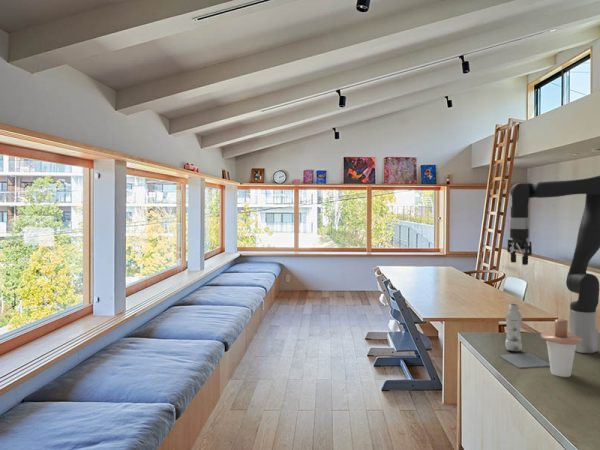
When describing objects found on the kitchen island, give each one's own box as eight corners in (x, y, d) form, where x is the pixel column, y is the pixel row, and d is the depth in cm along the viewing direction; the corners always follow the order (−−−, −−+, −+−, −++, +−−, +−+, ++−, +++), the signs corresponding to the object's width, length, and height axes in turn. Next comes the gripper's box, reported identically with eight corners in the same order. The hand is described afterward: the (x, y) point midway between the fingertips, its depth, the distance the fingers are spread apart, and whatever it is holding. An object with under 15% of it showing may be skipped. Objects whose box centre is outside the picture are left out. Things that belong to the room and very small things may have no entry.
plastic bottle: (518, 348, 189) (518, 302, 188) (524, 353, 182) (524, 306, 181) (502, 347, 190) (502, 302, 189) (508, 353, 183) (508, 306, 182)
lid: (564, 333, 167) (564, 315, 167) (590, 343, 154) (591, 324, 154) (533, 334, 165) (533, 316, 165) (557, 345, 152) (557, 326, 152)
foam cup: (578, 380, 154) (578, 344, 154) (549, 376, 157) (549, 341, 157) (572, 370, 163) (572, 336, 163) (544, 367, 166) (544, 334, 166)
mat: (529, 354, 181) (529, 353, 181) (552, 366, 167) (552, 365, 167) (498, 355, 180) (498, 354, 180) (518, 368, 166) (518, 367, 166)
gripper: (537, 228, 188) (537, 265, 189) (517, 226, 202) (517, 261, 203) (521, 228, 187) (521, 265, 188) (502, 227, 201) (502, 261, 202)
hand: (519, 263), depth 195 cm, fingers open, 8 cm apart
